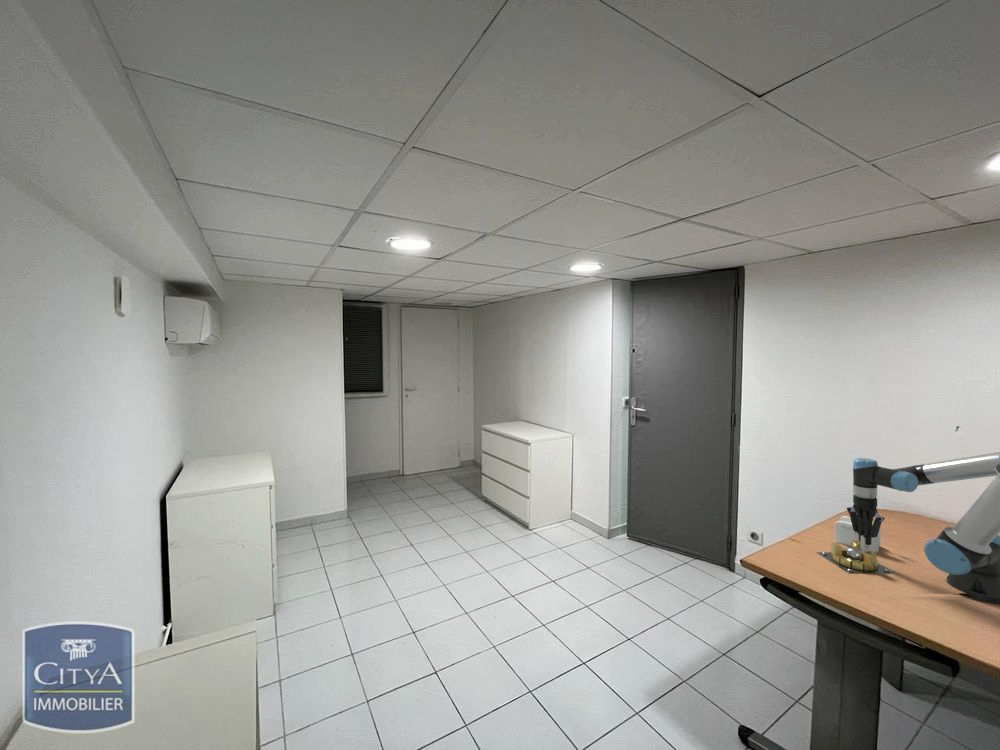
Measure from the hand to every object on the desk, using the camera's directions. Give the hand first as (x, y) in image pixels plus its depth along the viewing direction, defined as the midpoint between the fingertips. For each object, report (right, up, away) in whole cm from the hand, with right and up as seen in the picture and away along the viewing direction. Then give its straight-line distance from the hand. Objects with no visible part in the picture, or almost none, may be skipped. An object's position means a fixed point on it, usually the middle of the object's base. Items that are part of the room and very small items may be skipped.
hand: (865, 551), depth 169 cm
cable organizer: (+10, -5, +15) cm, 19 cm away
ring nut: (-6, -4, -1) cm, 7 cm away
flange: (-6, -6, -1) cm, 8 cm away
